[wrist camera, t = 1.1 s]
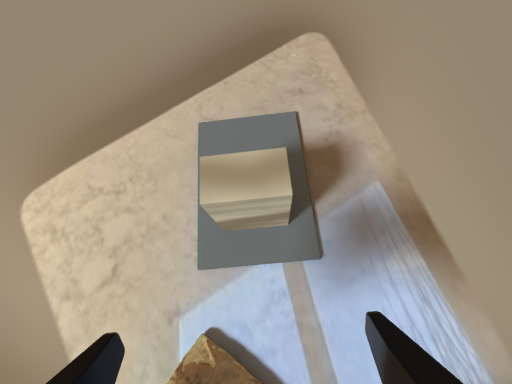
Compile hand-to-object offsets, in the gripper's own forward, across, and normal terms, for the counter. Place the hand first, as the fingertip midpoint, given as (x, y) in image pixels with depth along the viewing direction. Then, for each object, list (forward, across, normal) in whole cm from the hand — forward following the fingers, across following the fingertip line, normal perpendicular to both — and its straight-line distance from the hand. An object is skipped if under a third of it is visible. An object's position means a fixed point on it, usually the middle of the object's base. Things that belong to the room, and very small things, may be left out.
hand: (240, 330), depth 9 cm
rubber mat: (+18, 0, +1) cm, 18 cm away
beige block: (+15, 0, +3) cm, 15 cm away
